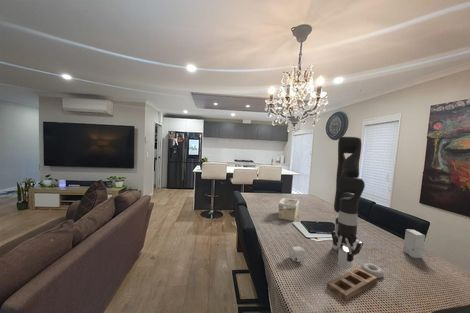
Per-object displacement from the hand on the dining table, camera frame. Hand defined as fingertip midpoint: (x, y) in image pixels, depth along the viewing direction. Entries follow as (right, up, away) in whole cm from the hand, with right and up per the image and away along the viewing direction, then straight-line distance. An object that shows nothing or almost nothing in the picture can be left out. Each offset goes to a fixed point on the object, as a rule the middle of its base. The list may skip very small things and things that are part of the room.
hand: (344, 258), depth 93 cm
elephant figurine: (-14, -14, +25) cm, 32 cm away
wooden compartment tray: (+6, -15, +5) cm, 17 cm away
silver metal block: (0, -4, 0) cm, 4 cm away
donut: (+23, -16, +16) cm, 32 cm away
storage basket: (0, -10, +99) cm, 100 cm away
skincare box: (+63, -16, +37) cm, 75 cm away
